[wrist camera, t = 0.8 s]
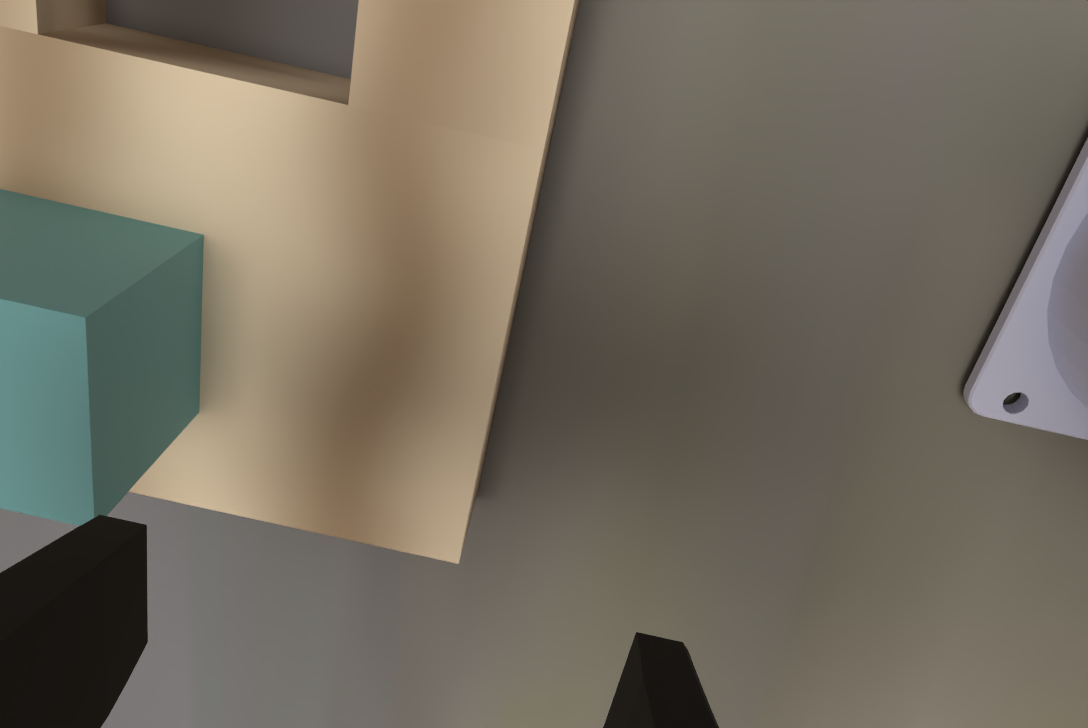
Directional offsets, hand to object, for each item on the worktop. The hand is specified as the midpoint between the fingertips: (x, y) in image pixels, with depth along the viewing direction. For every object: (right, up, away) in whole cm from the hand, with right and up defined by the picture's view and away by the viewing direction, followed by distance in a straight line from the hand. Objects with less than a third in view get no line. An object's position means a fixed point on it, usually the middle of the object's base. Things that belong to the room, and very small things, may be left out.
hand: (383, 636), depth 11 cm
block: (-7, +5, +6) cm, 10 cm away
